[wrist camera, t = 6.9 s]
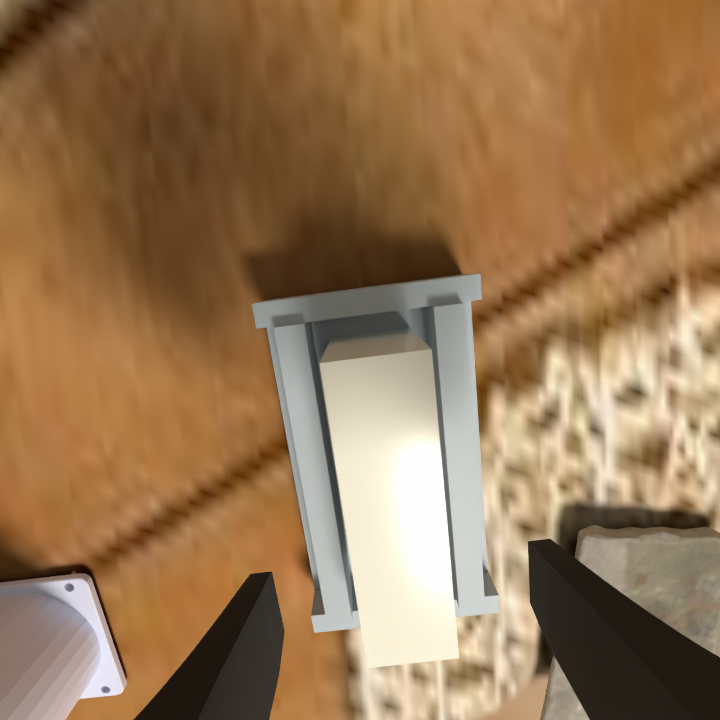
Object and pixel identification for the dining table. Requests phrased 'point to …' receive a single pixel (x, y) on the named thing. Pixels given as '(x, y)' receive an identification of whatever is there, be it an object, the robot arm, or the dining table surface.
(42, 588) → the robot arm
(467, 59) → the dining table surface
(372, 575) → the clay bar
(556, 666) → the stone
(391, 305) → the tray
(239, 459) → the dining table surface
